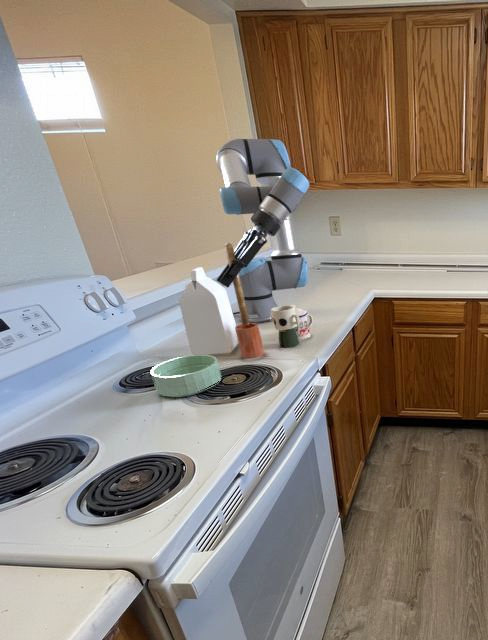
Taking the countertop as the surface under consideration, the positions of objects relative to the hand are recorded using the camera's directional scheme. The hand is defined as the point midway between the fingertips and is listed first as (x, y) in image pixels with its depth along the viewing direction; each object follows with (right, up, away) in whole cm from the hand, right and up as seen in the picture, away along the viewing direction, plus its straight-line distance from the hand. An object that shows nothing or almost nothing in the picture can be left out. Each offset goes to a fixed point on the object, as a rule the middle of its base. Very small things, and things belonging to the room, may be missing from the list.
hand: (222, 283), depth 117 cm
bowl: (-5, -29, -7) cm, 30 cm away
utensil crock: (+4, -20, +12) cm, 23 cm away
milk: (-11, -18, +19) cm, 28 cm away
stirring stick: (+3, -11, +8) cm, 14 cm away
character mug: (+12, -17, +19) cm, 28 cm away
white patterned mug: (+13, -13, +28) cm, 34 cm away
